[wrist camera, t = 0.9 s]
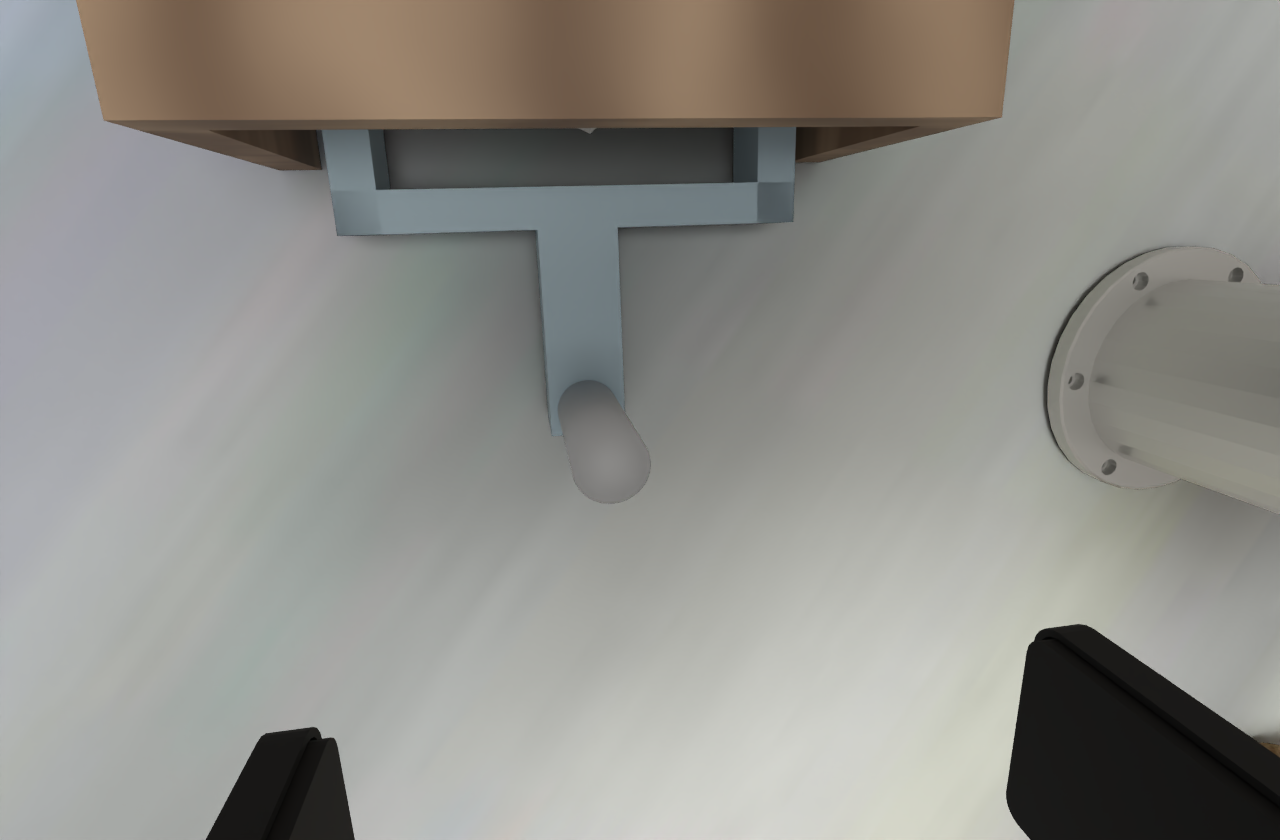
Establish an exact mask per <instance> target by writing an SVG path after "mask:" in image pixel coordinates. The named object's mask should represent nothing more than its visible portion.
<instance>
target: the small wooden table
mask: <svg viewBox="0 0 1280 840" xmlns="http://www.w3.org/2000/svg"><path fill="white" fill-rule="evenodd" d="M76 2H77V6H78V11H79V15H80V19H81V24H82V28H83V32H84V37H85V41H86V45H87V50H88V54H89V58H90V63H91V67H92V71H93V76H94V80H95V84H96V89H97V93H98V97H99V102H100V106H101V110H102V115H103V119H104V121H108V122H111V123H115V124H118V125H122V126H125V127H129V128H132V129H136V130H139V131H143V132H147V133H150V134H154V135H157V136H161V137H164V138H168V139H171V140H175V141H178V142H182V143H185V144H189V145H192V146H196V147H199V148H203V149H207V150H210V151H214V152H217V153H221V154H224V155H228V156H231V157H235V158H238V159H242V160H245V161H249V162H252V163H256V164H259V165H263V166H267V167H270V168H274V169H277V170H322V168H321V162H320V155H319V148H318V142H317V135H316V130H359V129H530V128H701V127H796V148H795V163H802V162H822V161H826V160H830V159H834V158H838V157H842V156H847V155H851V154H855V153H859V152H863V151H867V150H871V149H875V148H879V147H883V146H887V145H891V144H895V143H899V142H903V141H907V140H911V139H915V138H920V137H924V136H928V135H932V134H936V133H940V132H944V131H948V130H952V129H956V128H960V127H964V126H968V125H972V124H976V123H980V122H984V121H989V120H993V119H997V118H1001V117H1002V110H1003V101H1004V92H1005V82H1006V73H1007V64H1008V54H1009V45H1010V36H1011V27H1012V17H1013V8H1014V0H76Z"/></svg>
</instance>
